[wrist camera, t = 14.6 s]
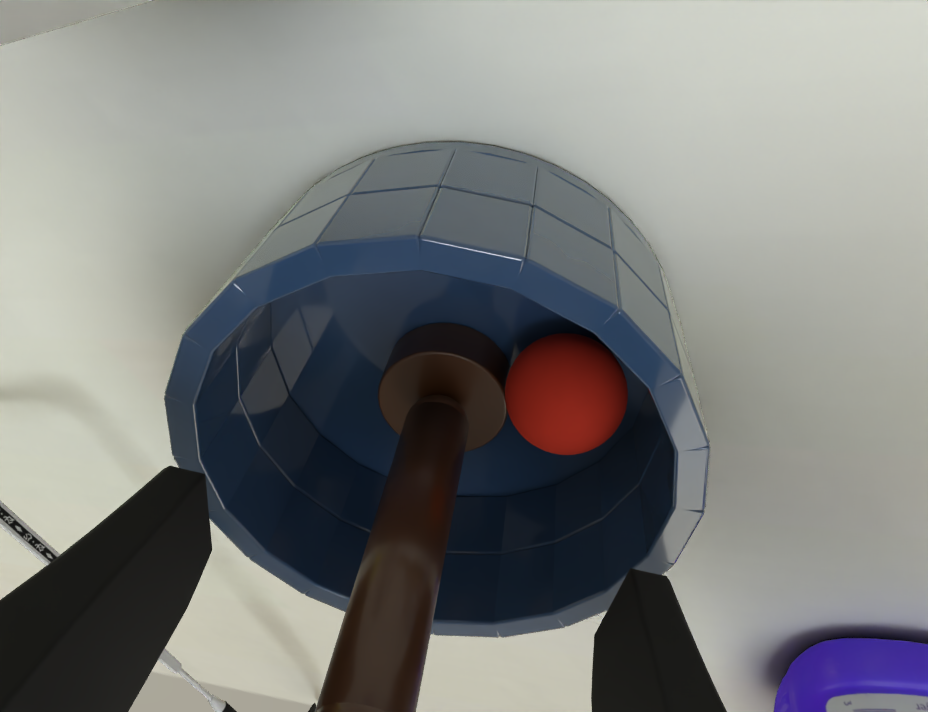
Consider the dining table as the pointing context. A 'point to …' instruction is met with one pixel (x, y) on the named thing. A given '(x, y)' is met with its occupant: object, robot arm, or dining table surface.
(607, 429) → the ball
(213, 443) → the bowl
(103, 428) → the dining table surface
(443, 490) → the flanged brown rod
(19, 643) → the robot arm
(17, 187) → the dining table surface
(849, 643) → the bottle
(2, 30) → the mug
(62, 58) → the dining table surface
